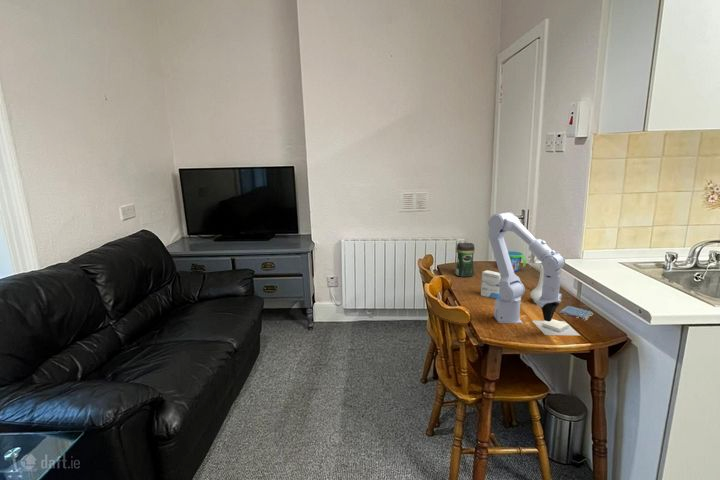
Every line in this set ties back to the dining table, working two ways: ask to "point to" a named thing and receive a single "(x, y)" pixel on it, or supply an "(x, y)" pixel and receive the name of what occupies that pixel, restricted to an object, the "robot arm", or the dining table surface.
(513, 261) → the snack cup
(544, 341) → the dining table surface
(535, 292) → the flower vase
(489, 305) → the dining table surface
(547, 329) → the felt pad
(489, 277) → the ink box
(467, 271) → the coffee jar
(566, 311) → the woven mat
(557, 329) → the tile
